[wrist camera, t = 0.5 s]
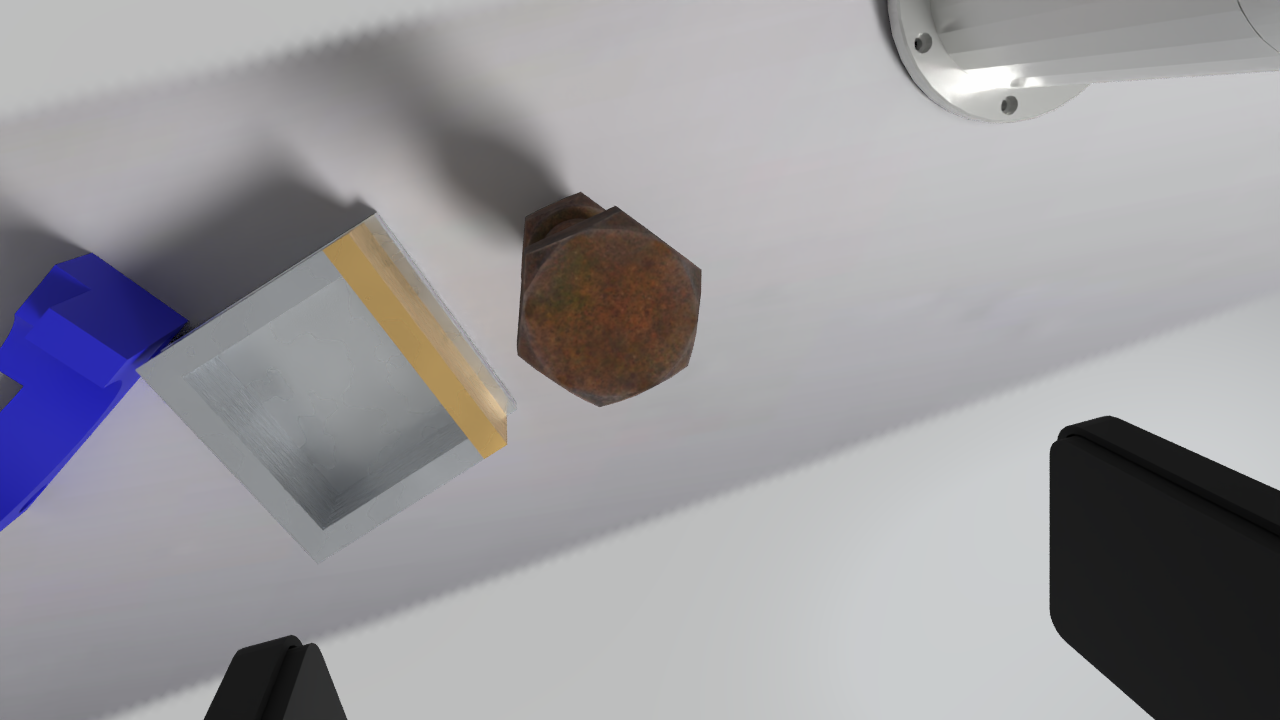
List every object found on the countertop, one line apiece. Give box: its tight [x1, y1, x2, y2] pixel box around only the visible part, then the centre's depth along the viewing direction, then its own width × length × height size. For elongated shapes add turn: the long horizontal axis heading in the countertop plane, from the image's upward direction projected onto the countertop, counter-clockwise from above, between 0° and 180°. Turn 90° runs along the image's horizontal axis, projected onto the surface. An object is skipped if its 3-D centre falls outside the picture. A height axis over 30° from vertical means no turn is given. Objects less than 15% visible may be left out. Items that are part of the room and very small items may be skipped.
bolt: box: [517, 192, 701, 407], centre depth 28 cm, size 6×5×15 cm
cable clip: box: [0, 253, 188, 531], centre depth 30 cm, size 12×4×6 cm, turn 136°
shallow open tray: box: [135, 212, 517, 564], centre depth 33 cm, size 11×11×4 cm
